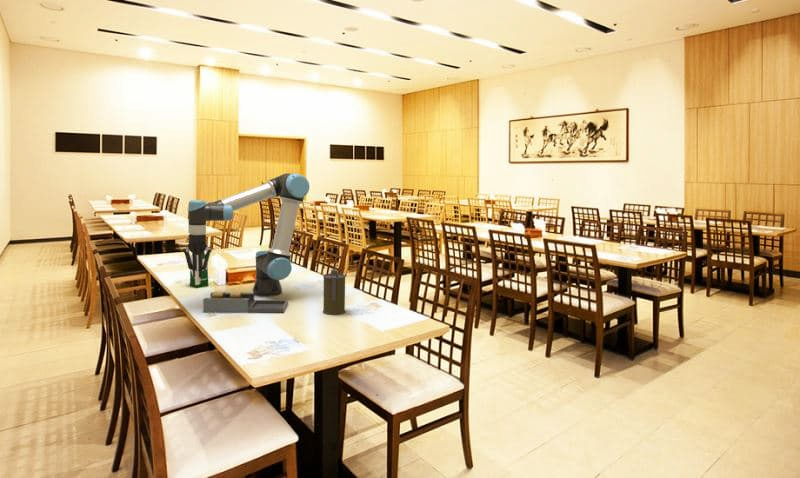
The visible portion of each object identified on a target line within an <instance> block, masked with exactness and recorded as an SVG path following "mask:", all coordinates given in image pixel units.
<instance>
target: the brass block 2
mask: <svg viewBox="0 0 800 478" xmlns="http://www.w3.org/2000/svg"><path fill="white" fill-rule="evenodd" d="M242 292H243V291H232V293H231V294H230V298H242Z"/></svg>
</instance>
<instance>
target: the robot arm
mask: <svg viewBox="0 0 800 478" xmlns="http://www.w3.org/2000/svg"><path fill="white" fill-rule="evenodd" d="M309 192H310V182H309V180H308V179H307V177H306V176H305V175H303V174H300V173H283V174H280V175H278V176H276V177H273V178H271V179H269V180H267V181H266V183H262V184H259V185H257V186H254V187H252V188H249V189H246V190H243V191H240V192H238V193H236V194H232V195H229V196H227V197H226V196H225V197H224V198H221V199H219V200H215V201H211V202H210V201H209V202H206V201H205V200H200V199H192V200H191V199H190V200H189V201H188V207H187V212H188V213H187V216H188V217H187V218H188V229H187V230H188V243H187V247H184V248H182V252H183V254H184V255H185V259H186V263H187V268H188V269H189V270H190V269H191V270H193V277H195V285H199V284H200V277H202V270H204V269H206V268H207V264H208V263H209V259H210V256H211V253H212V252H213V248H209V246H208V245H207V234H206V233H207V222H212V221H213V222H214V221H215V222H217V221H218V222H219V221H223V222H226V221H232V220H233V217H234V211H238V210H240V209H242V208H245V207H248V206H251V205H254V204H256V203H260V202H262V201H265V200H267V199H271V198H274V199H276V198H278V197H279V199H280V201H281V205H280V210H279V214H278V215H279V216H278V219H277V224H276V228H275V232H274V237H273V242H272V246H271V248H269V249H267V250H258V251H256V253H255V280H254V284H253V288H252V293H255V296H257V297H275V296H279V295H281V294H282V293H283V288H282V285H281V282H280V281H283V280H285V279H286V278H288V277H289V276H290V275H291V272H292V269H293V267H292V266H293V265H292V262H291V258H292V253H291V252H290V247H291V243H292V239H293V233H294V229H295V225H296V222H297V221H296V220H297V216H298V211H299V206H301V205H302V204H303V203H304V199H305V198H304V197H306V196H307V194H308V193H309ZM204 251H205V254H206V255H205V260H204V264H203V252H204ZM190 252H191V253H190ZM190 254H192V257H193V265H192V261H191V257H190ZM197 254H198V270H197ZM208 265H209V264H208Z"/></svg>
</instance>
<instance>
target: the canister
mask: <svg viewBox="0 0 800 478" xmlns="http://www.w3.org/2000/svg"><path fill="white" fill-rule="evenodd" d="M346 276H347V275H345V274H343V273H339V270H338V268H333V269H330V273H325V274H323V276H322V277H323V308H322V309H323V310H322V313H323V314H325V315H330V316H338V315H339V316H340V315H342V314H344V313H346V306H345V304H346Z"/></svg>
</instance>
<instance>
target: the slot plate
mask: <svg viewBox="0 0 800 478" xmlns="http://www.w3.org/2000/svg"><path fill="white" fill-rule="evenodd" d="M214 292H215V291H214ZM214 292H213V291H211V292H210V297H204V298H203V299H202V305H203V306H202V308H203V309H202V310H203V311H202V312H203V313H223V314H225V313H228V314H229V313H230V314H232V313H236V314H237V313H238V314H240V313H241V314H245V313H247V314H249V313H248V308H249V306H250V305H251V304H252V303H253V302H254V300H256V299H255V296H256V295H255V293H253V292H243V291H241V292H242V298H230V294H231V293H232V292H233V291H232V292H231V291H230V292H229V291H227V292H226V291H224V292H225V298H212V294H213V293H214Z"/></svg>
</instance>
